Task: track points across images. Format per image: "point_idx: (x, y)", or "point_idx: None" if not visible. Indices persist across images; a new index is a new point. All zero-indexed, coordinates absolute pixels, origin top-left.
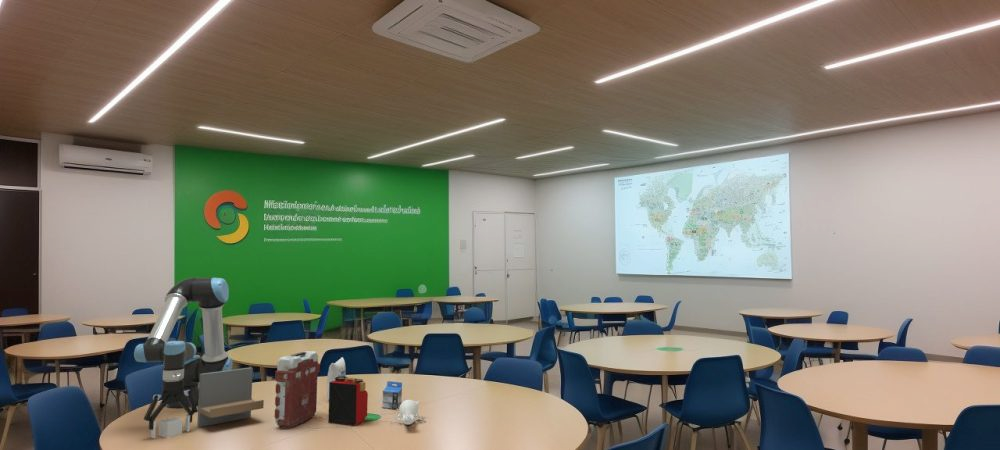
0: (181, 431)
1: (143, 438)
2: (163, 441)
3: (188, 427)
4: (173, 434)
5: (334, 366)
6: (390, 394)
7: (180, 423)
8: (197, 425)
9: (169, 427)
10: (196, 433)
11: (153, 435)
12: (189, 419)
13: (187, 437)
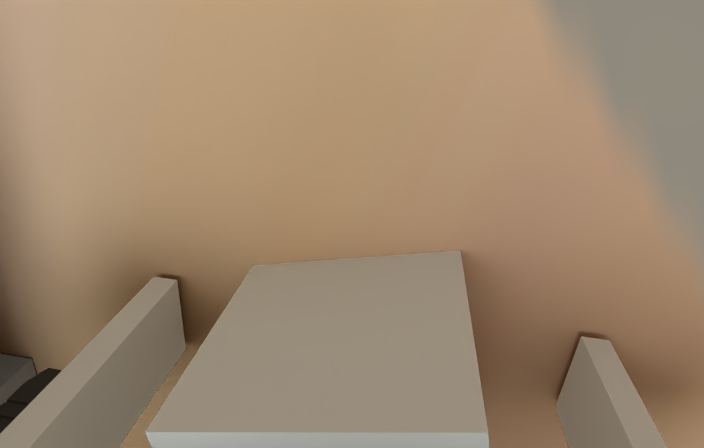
0: (247, 283)
1: None
2: (604, 109)
3: (134, 311)
4: (365, 270)
5: None
6: None
7: (217, 372)
8: None
9: (438, 345)
10: (93, 135)
11: (623, 369)
12: (37, 403)
13: (249, 21)
